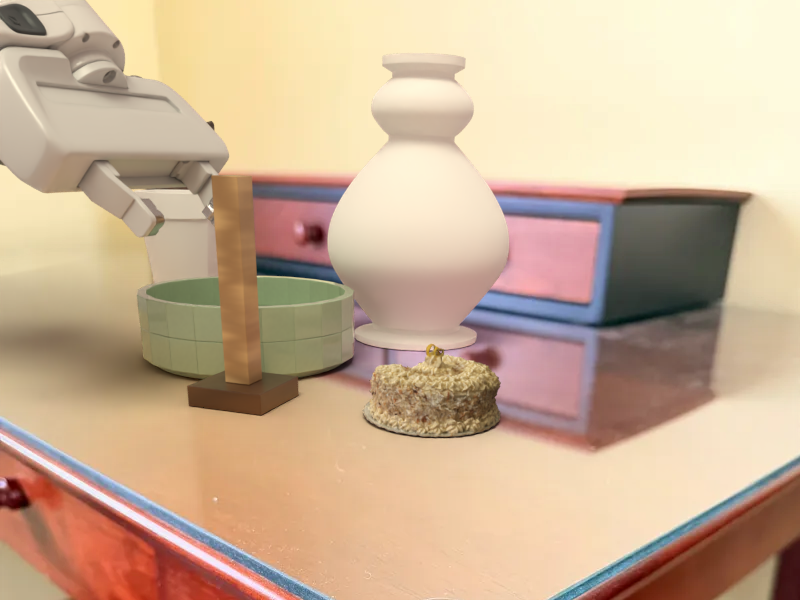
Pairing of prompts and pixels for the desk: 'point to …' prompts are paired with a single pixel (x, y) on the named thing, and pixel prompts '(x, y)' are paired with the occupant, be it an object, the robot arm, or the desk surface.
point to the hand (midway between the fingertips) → (194, 225)
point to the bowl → (278, 321)
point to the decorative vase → (419, 215)
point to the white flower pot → (180, 237)
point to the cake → (434, 397)
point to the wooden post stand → (239, 311)
